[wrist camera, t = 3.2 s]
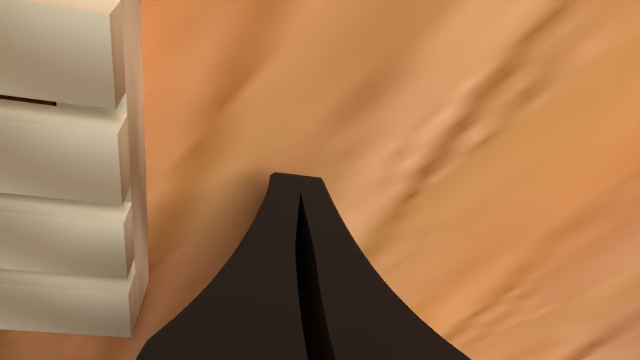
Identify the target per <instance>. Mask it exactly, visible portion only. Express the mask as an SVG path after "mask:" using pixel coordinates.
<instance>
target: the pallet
mask: <svg viewBox="0 0 640 360" xmlns="http://www.w3.org/2000/svg"><path fill="white" fill-rule="evenodd" d="M0 94H1V95H8V96H16V97H23V98H31V99H39V100H46V101H54V102H56V104H57V106H52V105H44V104H37V103H29V102H21V101H13V100H6V99H0V329H6V330H21V331H36V332H50V333H65V334H80V335H94V336H109V337H124V338H131V337H132V333H133V330H134V327H135V323H136V320H137V318H138V315H139V312H140V309H141V305H142V302H143V298H144V295H145V292H146V288H147V285H148V281H149V268H148V235H147V201H146V168H145V135H144V101H143V68H142V35H141V2H140V0H0Z"/></svg>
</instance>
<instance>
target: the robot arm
mask: <svg viewBox="0 0 640 360" xmlns="http://www.w3.org/2000/svg"><path fill="white" fill-rule="evenodd" d="M136 360H471V359H470V358H468V357H467V356H466V355H464V354H463V353H462V352H461V351H459V350H458V349H457V348H455V347H454V346H453V345H451V344H450V343H449V342H447V341H446V340H445V339H443V338H442V337H441V336H440V335H438V334H437V333H436V332H435V331H434V330H433V329H432V328H430V327H429V326H428V325H427V324H426V323H425V322H424V321H422V320H421V319H420V318H419V317H418V316H417V315H416V314H415V313H414V312H413V311H412V310H411V309H410V308H409V307H408V306H407V305H406V304H405V303H404V302H403V301H402V300H401V299H400V298H399V297H398V296H397V295H396V294H395V293H394V292H393V291H392V290H391V288H390V287H389V286H388V285H387V284H386V283H385V281H384V280H383V279H382V278H381V277H380V275H379V274H378V273H377V272H376V270H375V269H374V268H373V266H372V265H371V264H370V262H369V261H368V260H367V258H366V257H365V255H364V254H363V252H362V251H361V249H360V248H359V246H358V245H357V243H356V242H355V240H354V239H353V237H352V235H351V234H350V232H349V230H348V229H347V227H346V225H345V223H344V222H343V220H342V218H341V216H340V215H339V213H338V211H337V209H336V207H335V205H334V203H333V201H332V199H331V197H330V195H329V193H328V190H327V188H326V186H325V183H324V181H323V180H322V179H321V178H319V177H310V176H302V175H294V174H285V173H277V172H275V173H273V174H272V175H270V180H269V187H268V190H267V193H266V196H265V198H264V201H263V203H262V205H261V207H260V209H259V211H258V213H257V215H256V217H255V220H254V221H253V223H252V225H251V227H250V228H249V230H248V232H247V233H246V235H245V236H244V238H243V240H242V241H241V243H240V244H239V246H238V247H237V249H236V250H235V252H234V253H233V255H232V256H231V257H230V259H229V260H228V261H227V263H226V264H225V265H224V266H223V268H222V269H221V270H220V271H219V272H218V274H217V275H216V276H215V277H214V278H213V280H212V281H211V282H210V283H209V284H208V285H207V286H206V288H205V289H204V290H203V291H202V292H201V293H200V294H199V295H198V296H197V297H196V298H195V299H194V300H193V301H192V302H191V303H190V304H189V305H188V306H187V307H186V308H185V309H184V310H183V311H182V312H180V313H179V314H178V315H177V316H176V317H175V318H174V319H173V320H171V321H170V322H169V323H168V324H167V325H165V326H164V327H163V328H162V329H160V330H159V331H158V332H157V333H156V334H154V335H153V336H152V337H151V338H150V339H148V341H147V342H146V344H145V345H144V347H143V348H142V350H141V352H140V353H139V355H138V356H137V358H136Z"/></svg>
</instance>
